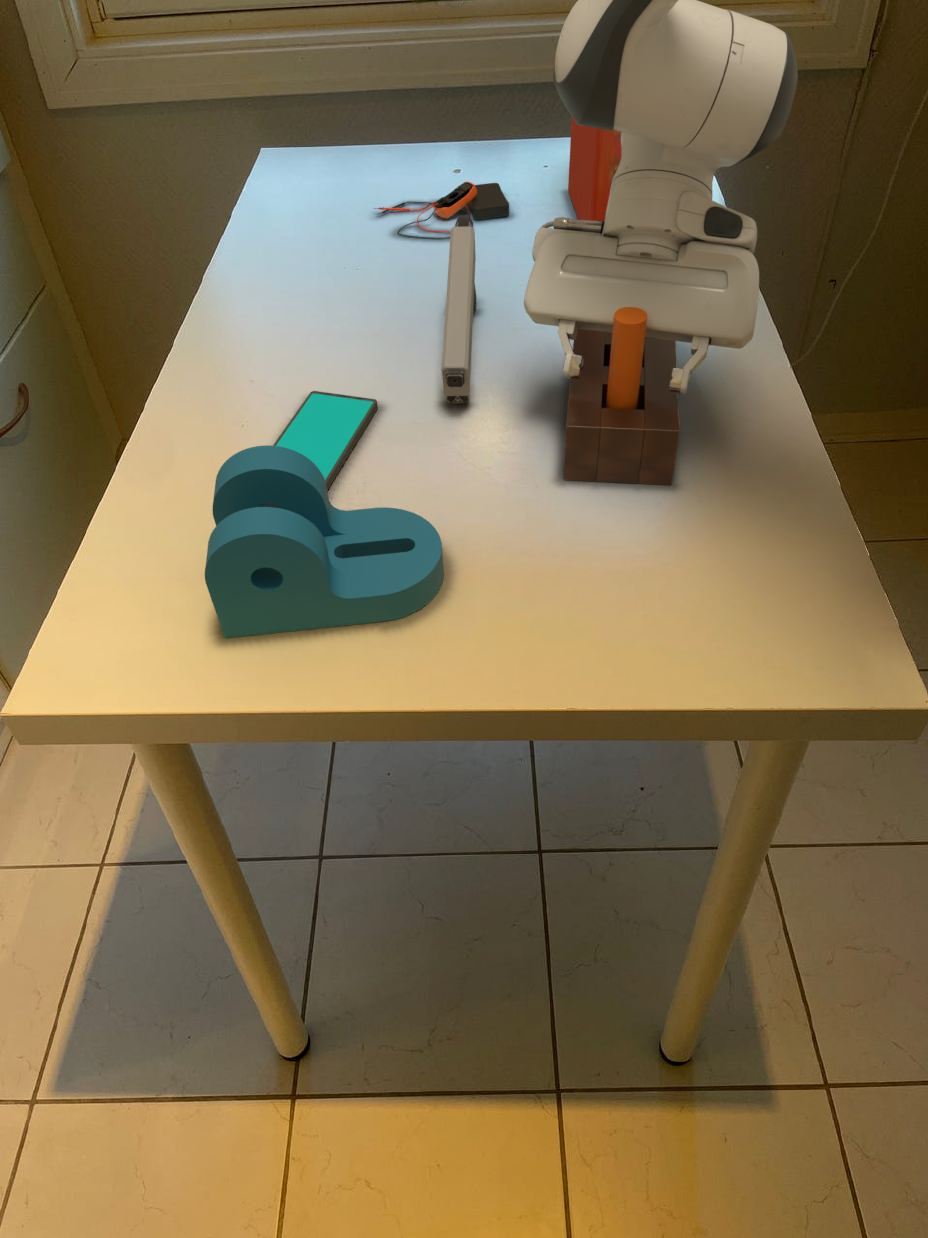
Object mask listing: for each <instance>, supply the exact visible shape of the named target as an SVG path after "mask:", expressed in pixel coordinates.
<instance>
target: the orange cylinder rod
mask: <svg viewBox="0 0 928 1238" xmlns="http://www.w3.org/2000/svg"><path fill="white" fill-rule="evenodd" d="M647 317H648V316H647V313H646V312H645V311H644V310H642V309H640V308H636V307H624V308H620V309H618V310H617V311H616V312H615V313H614V320H613V331H612V343H611V354H610V366H609V377H608V388H607V400H606V408H613V409H637V403H638V394H639V385H640V377H641V368H642V360H643V351H644V343H645V334H646V325H647Z"/></svg>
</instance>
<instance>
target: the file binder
mask: <svg viewBox="0 0 928 1238" xmlns="http://www.w3.org/2000/svg"><path fill="white" fill-rule="evenodd" d="M570 124H571V126H570V143H569V144H570V145H569V162H568V163H569V165H568V166H569V167H568V181H567V182H568V183H567V192H568V195H569V198H570V199H571V203H572V206H573V210H574V212H575V215H576V217H577V220H596V221H604V220H605V215H606V210H607V205H608V200H609V195H610V189H611V185H612V180H613V177H614V175H615V173H616V171H617V169H618V167H619V164H620V161H621V155H622V147H621V131H617V130H614V129H613V131H609V130H604V129H599V128H593V127H588V126H583V125H578V124H577V123H576V122H575V120H574V119H573V118H572V117H571V122H570Z"/></svg>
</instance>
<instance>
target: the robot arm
mask: <svg viewBox="0 0 928 1238" xmlns="http://www.w3.org/2000/svg"><path fill="white" fill-rule="evenodd" d="M552 70H553V71H552V79H553V83H554V86H555V89H556V91H557V93H558V95H559V97H560V100H561V102H562V103H563V105H564V107H565V108H566V110H567V111H568V113H569V115H570V116H571V119H572V118H573V119H574V120H575V122H576V123H577V124H578V125H583V126H588V127H593V128H599V129H604V130H609V131H613V129H614V130H617V131H621V147H622V155H621V161H620V164H619V167H618V169H617V171H616V173H615V175H614V177H613V180H612V185H611V189H610V195H609V200H608V205H607V210H606V215H605V220H604V221H596V220H578V219H572V218H571V219H570V218H569V217H566V216H565V217H564V216H562V217H555V218H554V219H553V220H552V221H547V222H546V223H544V224H542V225H541V226H540V227H539V228H538V229H537V232H535V236H534V241H533V246H532V255H531V256H532V259H533V265H532V268H531V271H530V274H529V278H528V281H527V285H526V289H525V293H524V297H523V307H524V311H525V312H526V314H527V315H528V317H529V318H530V319H531V321H532V322H533V323H534V324H538V325H544V326H552V327H558V329H557V334H558V337H559V340H560V343H561V346H562V349H563V352H564V355H565V358H564V364H563V370H562V375H563V377H564V378H568V379H570V378H574V379H581V376H582V372H581V370H582V369H583V366H584V359H583V357H582V356H579V355H574V352H573V345H572V344H571V343H572V342H571V341H574V340H576V337H577V332H578V329H584V330H592V331H600V332H608V333H612V331H613V320H614V313H615V312H616V311H617V310H618V309H620V308H624V307H636V308H640V309H642V310H644V311H645V312H646V313H647V316H648V317H647V325H646V334H645V337H648V338H656V339H664V340H672V341H676V342H679V343H680V342H681V343H689V344H691V345H690V354H691V358H690V359H689V360H688V361H687V362H686V363H685V365H684V366H683V367H682V368H679V367H677V368H673V371H672V380H671V381H670V386H669V391H671V392H677V393H678V394H685V395H686V394H687V391H688V387H689V381H690V376H691V375H693V374H694V373H695V371H696V370H697V369H698V368H699V366H700V365H702V363H703V362H704V361H705V359H707V355H708V351H709V347H710V346H714V347H721V348H729V349H730V348H731V349H743V348H744V347H745V346H747V345H748V344H749V343H750V342H751V341H752V340H753V337H754V333H755V329H756V320H757V316H758V307H759V296H760V295H759V294H760V268H759V264H758V261H757V259H756V257H755V255H754V254H755V251H756V248H757V241H758V228H757V222H756V221H755V219H754V218H752V217H750V216H749V215H746V214H744V213H742V212H739V211H738V210H737V211H736V210H735V209H732V208H729V207H728V206H725V205H723V204H721V203H718V202H716V201H714V200H713V180H714V176H715V174H716V172H717V171H718V170H719V169H721V168H723V167H725V168H727V169H728V168H732V167H734V166H736V165H738V164H740V163H742V162H744V161H746V160H748V159H750V158H751V157H754V156H755V155H757V154H758V153H760V152H761V151H763V150H766V148H768V147H770V146H771V145H772V144H774V142H775V141H777V139H778V138H779V137H780V136H781V134H782V133H783V131H784V129H785V127H786V124H787V123H788V122H787V121H788V119H789V116H790V114H791V110H792V107H793V103H794V100H795V95H796V92H797V91H796V90H797V86H798V76H799V75H798V63H797V55H796V52H795V49H794V45H793V42H792V40H791V38H790V36H789V34H788V33H787V32H786V31H785V30H781V29H780V28H778V27H776V26H775V25H773V24H771V23H768V22H766V21H763V20H760V19H757V18H754V17H751V16H748V15H745V14H743V13H739V12H737V11H733V10H731V9H724V8H721V7H718V6H716V5H712V4H708V3H707V2H703V1H700V0H576V1H575V2H574V4H573V6H572V8H571V9H570V11H569V13H568V15H567V16H566V19H565V21H564V24H563V25H562V28H561V31H560V34H559V37H558V41H557V45H556V50H555V56H554V62H553V69H552ZM551 227H552V228H551Z"/></svg>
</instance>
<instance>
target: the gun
mask: <svg viewBox="0 0 928 1238" xmlns="http://www.w3.org/2000/svg"><path fill="white" fill-rule="evenodd" d="M450 231H451V232H450V236H449V237H450V238H449V252H448V265H447V266H448V267H447V268H448V269H447V281H446V282H447V283H446V296H445V297H446V298H445V312H444V313H445V314H444V328H443V330H444V331H443V343H442V359H441V376H442V377H441V378H442V388H443V389H442V390H443V396H444V397H446V398H445V399H446V402H447V403H449V404H467V403H468V402H469V401H470V393H471V392H470V391H471V390H470V389H471V370H472V369H471V368H472V349H473V348H472V345H473V326H474V325H473V323H474V312H475V311H477V291H476V290H477V289H476V284H475V283H476V282H475V281H476V280H475V279H476V236H475V235H476V234H475V228H474V221H473V219H472V217H471V215H470V216H469V215H468V214H459V215H458V217H457V219H456V221H455V224H454V226H453V227H452V228H451V229H450Z"/></svg>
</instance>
